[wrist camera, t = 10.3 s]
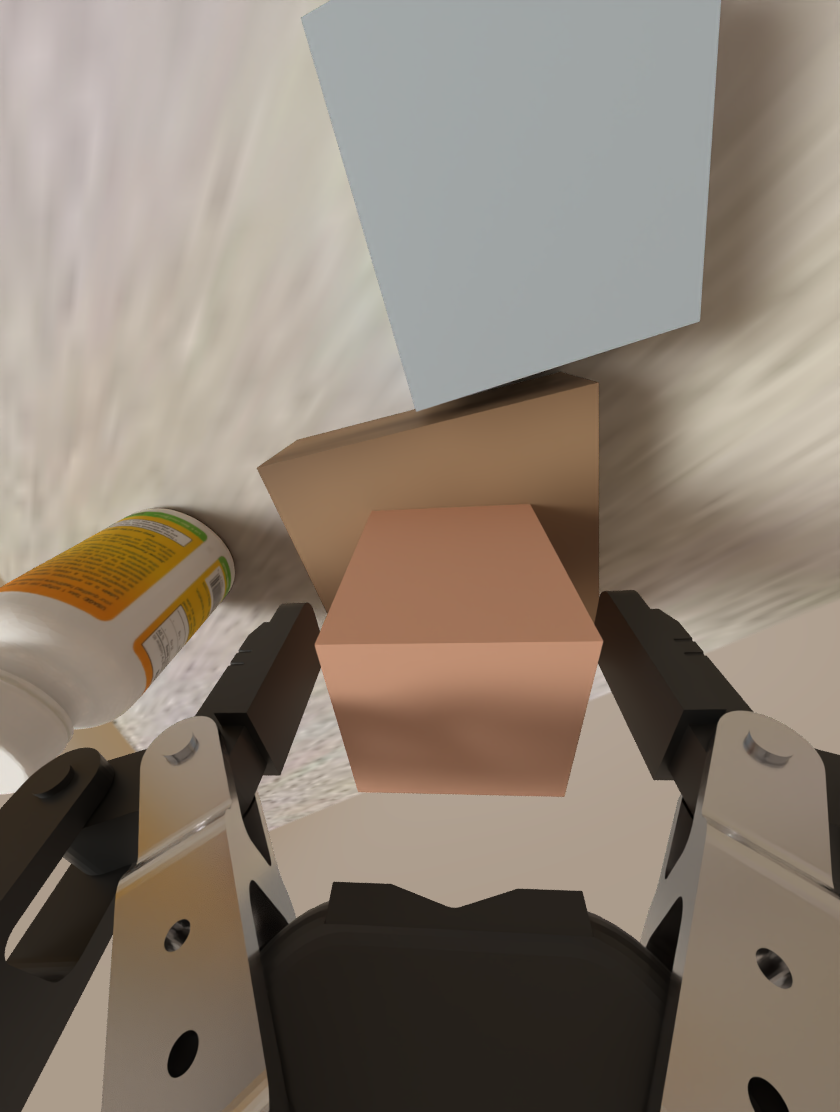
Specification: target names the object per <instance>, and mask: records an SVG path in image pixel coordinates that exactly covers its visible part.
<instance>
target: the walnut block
mask: <svg viewBox="0 0 840 1112" xmlns="http://www.w3.org/2000/svg"><path fill="white" fill-rule="evenodd" d="M257 469H258V472H259V474H260V476H261V478H262V480H263V482H264V484H265V486H266V488H267V490H268V492H269V494H270V496H271V498H272V500H273V502H274V505H275V507H276V509H277V511H278V513H279V515H280V517H281V519H282V521H283V523H284V525H285V527H286V529H287V531H288V533H289V535H290V538H291V540H292V542H293V544H294V546H295V548H296V550H297V552H298V554H299V556H300V558H301V560H302V562H303V564H304V566H305V568H306V570H307V573H308V575H309V577H310V579H311V581H312V583H313V585H314V587H315V589H316V591H317V593H318V595H319V597H320V599H321V601H322V603H323V606H324V608H325V610H326V612H327V614H328V612H329V610H330V607H331V605H332V603H333V600H334V598H335V596H336V593H337V591H338V589H339V586H340V584H341V581H342V579H343V577H344V574H345V572H346V570H347V567H348V565H349V563H350V560H351V558H352V556H353V553H354V551H355V549H356V546H357V544H358V542H359V539H360V537H361V535H362V532H363V530H364V528H365V525H366V523H367V521H368V518H369V516H370V514H371V511H379V510H402V509H424V508H447V507H470V506H492V505H515V504H530V505H531V507H532V509H533V510H534V512H535V514H536V516H537V518H538V520H539V522H540V524H541V525H542V527H543V529H544V531H545V533H546V535H547V537H548V539H549V540H550V542H551V544H552V546H553V548H554V550H555V552H556V554H557V555H558V557H559V559H560V561H561V563H562V565H563V567H564V569H565V570H566V572H567V574H568V576H569V578H570V580H571V582H572V584H573V585H574V587H575V589H576V591H577V593H578V595H579V597H580V599H581V600H582V602H583V604H584V606H585V608H586V610H587V612H588V614H589V615H590V617H591V619H592V621H593V623H594V622H595V617H596V612H597V607H598V602H599V383H598V382H595V381H591V380H588V379H584V378H581V377H577V376H574V375H570V374H567V373H563V372H557V373H553V374H550V375H546V376H542V377H538V378H534V379H530V380H526V381H523V382H519V383H515V384H511V385H507V386H503V387H499V388H496V389H492V390H488V391H484V392H480V393H476V394H472V395H469V396H465V397H461V398H458V399H455V400H452V401H449V402H445V403H442V404H439V405H436V406H433V407H430V408H427V409H423V410H420V411H417V412H416V409H414V410H411V411H407V412H403V413H399V414H395V415H391V416H387V417H384V418H380V419H376V420H372V421H368V422H364V423H360V424H357V425H353V426H349V427H345V428H341V429H337V430H333V431H330V432H326V433H322V434H318V435H314V436H310V437H306V438H303V439H299V440H296V441H295V442H294V443H292V444H291V445H289V446H288V447H286V448H285V449H283V450H282V451H281V452H279V453H278V454H276V455H275V456H273V457H272V458H270V459H269V460H267V461H266V462H265V463H263V464H262V465H260V466H259V467H257Z"/></svg>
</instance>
